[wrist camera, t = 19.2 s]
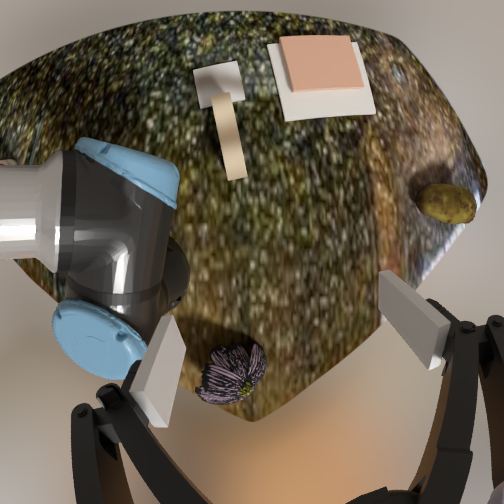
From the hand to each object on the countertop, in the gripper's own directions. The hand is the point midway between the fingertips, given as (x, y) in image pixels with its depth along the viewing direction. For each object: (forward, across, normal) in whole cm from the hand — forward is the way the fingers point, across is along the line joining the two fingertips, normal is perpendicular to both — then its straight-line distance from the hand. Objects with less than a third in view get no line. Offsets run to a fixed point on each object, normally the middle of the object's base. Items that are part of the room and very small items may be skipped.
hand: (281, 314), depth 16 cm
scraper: (+29, +1, -17) cm, 33 cm away
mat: (+29, -16, -22) cm, 39 cm away
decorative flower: (+29, +10, +27) cm, 41 cm away
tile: (+27, -15, -19) cm, 37 cm away
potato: (+29, -36, +2) cm, 46 cm away
